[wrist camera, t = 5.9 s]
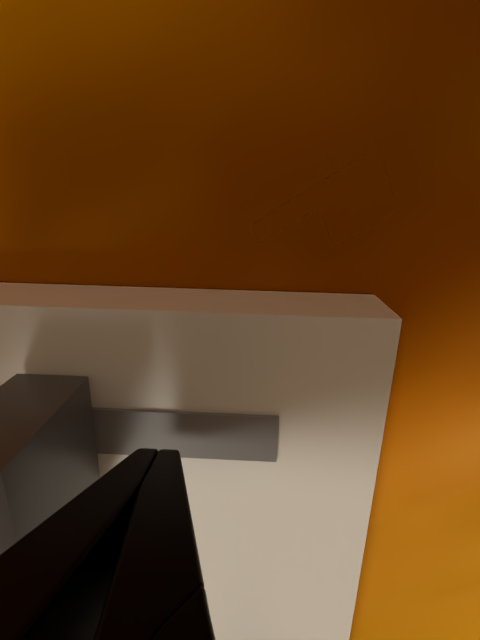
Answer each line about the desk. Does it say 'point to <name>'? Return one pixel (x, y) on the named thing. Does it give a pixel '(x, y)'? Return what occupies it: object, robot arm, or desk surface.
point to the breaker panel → (235, 427)
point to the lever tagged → (43, 449)
